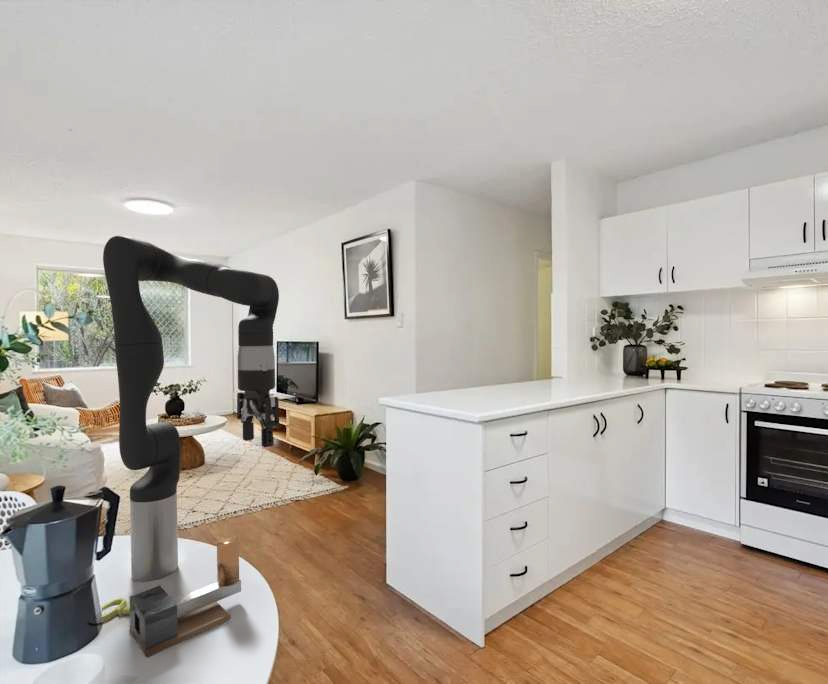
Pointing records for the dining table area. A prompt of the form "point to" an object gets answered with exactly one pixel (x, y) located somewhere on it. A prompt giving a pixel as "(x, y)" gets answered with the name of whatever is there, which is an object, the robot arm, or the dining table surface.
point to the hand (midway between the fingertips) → (257, 443)
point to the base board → (190, 626)
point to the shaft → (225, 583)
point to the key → (116, 609)
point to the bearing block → (153, 617)
